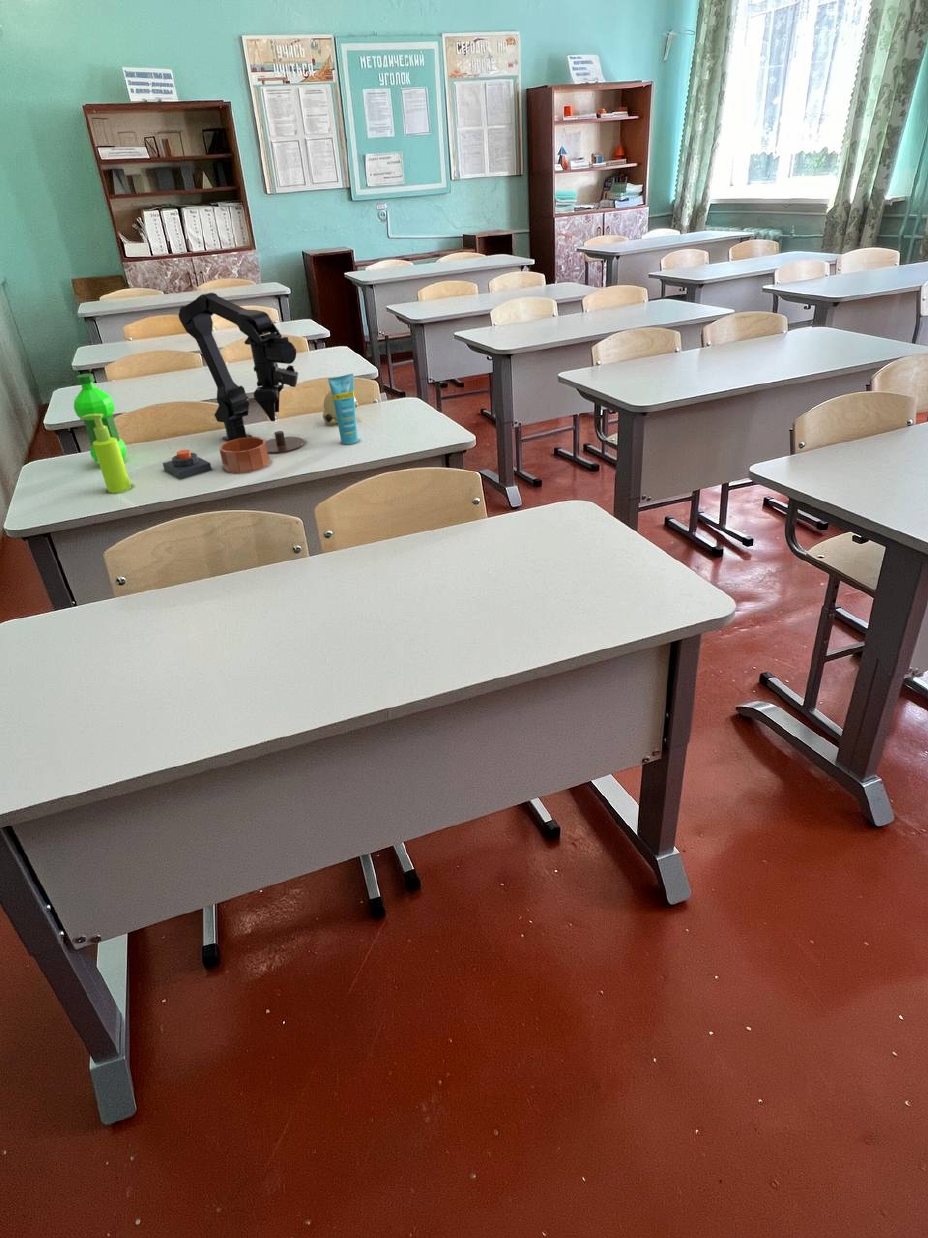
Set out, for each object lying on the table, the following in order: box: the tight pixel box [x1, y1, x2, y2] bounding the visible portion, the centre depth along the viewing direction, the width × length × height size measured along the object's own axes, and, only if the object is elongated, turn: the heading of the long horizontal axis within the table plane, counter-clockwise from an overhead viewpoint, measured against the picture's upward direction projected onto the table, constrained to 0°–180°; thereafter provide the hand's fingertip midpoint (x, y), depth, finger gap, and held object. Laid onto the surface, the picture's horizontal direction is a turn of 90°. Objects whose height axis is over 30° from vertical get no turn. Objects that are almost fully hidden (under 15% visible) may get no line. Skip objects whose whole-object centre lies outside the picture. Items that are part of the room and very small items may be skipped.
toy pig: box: [322, 389, 359, 426], centre depth 238 cm, size 10×12×11 cm
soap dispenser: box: [79, 414, 132, 494], centre depth 196 cm, size 6×7×20 cm
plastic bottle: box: [73, 373, 127, 464], centre depth 214 cm, size 10×10×25 cm
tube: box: [327, 373, 359, 445], centre depth 218 cm, size 7×5×19 cm, turn 123°
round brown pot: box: [219, 436, 271, 474], centre depth 209 cm, size 12×12×6 cm
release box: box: [162, 452, 213, 480], centre depth 209 cm, size 11×9×4 cm
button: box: [176, 449, 192, 459], centre depth 208 cm, size 4×4×2 cm
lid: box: [266, 430, 305, 455], centre depth 223 cm, size 13×13×4 cm
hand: (275, 416), depth 219 cm, fingers open, 9 cm apart
